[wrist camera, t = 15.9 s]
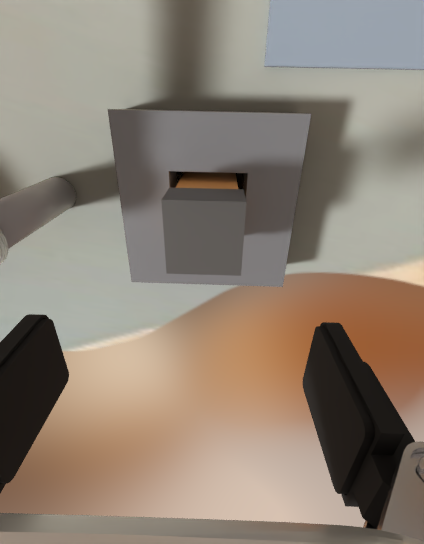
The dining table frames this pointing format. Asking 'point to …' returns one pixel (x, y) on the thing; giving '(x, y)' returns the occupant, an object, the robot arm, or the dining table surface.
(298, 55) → the mat
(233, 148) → the socket
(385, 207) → the dining table surface
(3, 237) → the silver bent bar
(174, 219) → the plug
